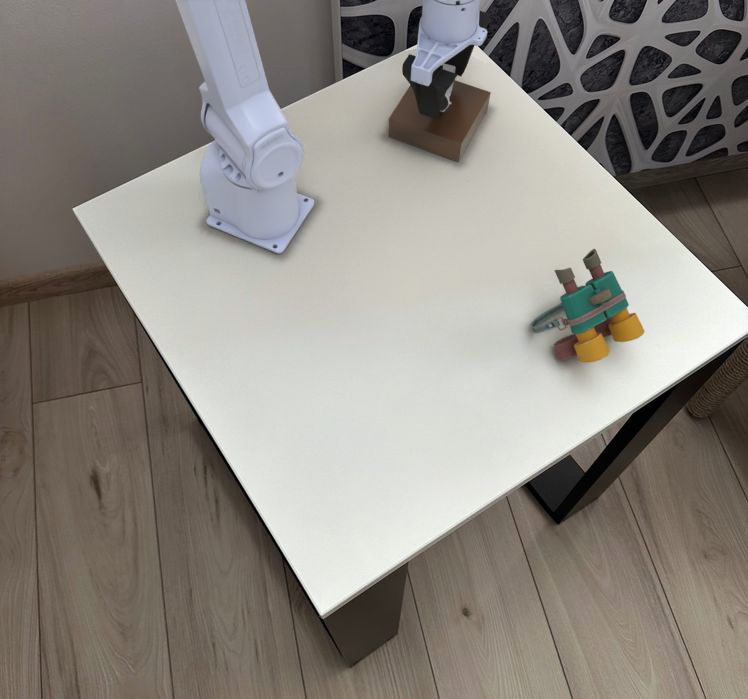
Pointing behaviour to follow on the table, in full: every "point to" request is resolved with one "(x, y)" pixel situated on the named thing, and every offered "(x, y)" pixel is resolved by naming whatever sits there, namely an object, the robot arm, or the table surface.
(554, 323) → the binoculars
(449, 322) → the table surface
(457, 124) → the brown square tile
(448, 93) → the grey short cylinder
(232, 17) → the robot arm
